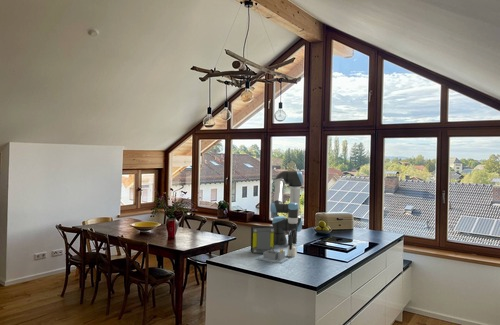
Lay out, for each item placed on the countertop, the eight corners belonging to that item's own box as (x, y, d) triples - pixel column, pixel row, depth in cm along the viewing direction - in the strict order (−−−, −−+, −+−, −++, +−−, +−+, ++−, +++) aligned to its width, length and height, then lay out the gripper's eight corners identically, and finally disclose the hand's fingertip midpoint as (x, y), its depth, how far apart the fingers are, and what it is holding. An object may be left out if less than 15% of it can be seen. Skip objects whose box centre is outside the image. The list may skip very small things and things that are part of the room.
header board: (264, 255, 282) (264, 244, 282) (288, 259, 273) (288, 248, 273) (257, 259, 272) (257, 247, 272) (281, 263, 262) (282, 251, 262)
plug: (289, 254, 287) (289, 245, 287) (296, 255, 285) (296, 246, 285) (287, 255, 284) (287, 246, 283) (294, 257, 281) (294, 247, 281)
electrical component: (252, 253, 288) (253, 228, 288) (250, 250, 298) (250, 226, 298) (274, 253, 291) (274, 228, 291) (271, 250, 301) (271, 225, 301)
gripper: (292, 220, 293) (292, 250, 294) (283, 223, 278) (283, 254, 278) (301, 221, 290) (300, 251, 290) (292, 224, 274) (292, 256, 275)
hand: (292, 252), depth 284 cm, fingers closed on plug, 4 cm apart
